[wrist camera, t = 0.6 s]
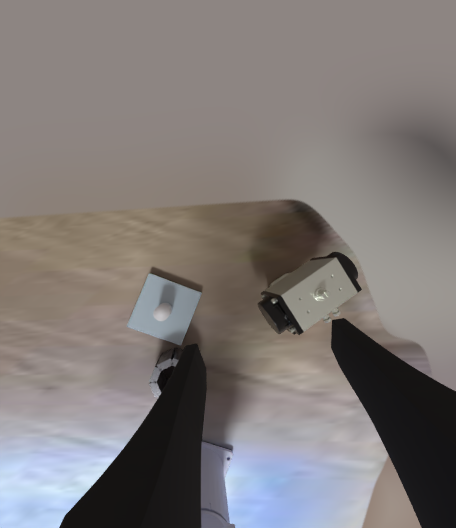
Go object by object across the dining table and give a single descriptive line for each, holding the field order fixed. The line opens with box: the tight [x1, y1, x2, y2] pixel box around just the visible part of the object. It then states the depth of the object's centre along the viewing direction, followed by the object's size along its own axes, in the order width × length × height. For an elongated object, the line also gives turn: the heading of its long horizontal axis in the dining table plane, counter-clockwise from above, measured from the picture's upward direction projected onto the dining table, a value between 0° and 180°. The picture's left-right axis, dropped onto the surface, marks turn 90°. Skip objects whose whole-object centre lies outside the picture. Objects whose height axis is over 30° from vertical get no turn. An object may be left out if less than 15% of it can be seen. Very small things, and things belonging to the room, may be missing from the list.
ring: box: [149, 348, 183, 399], centre depth 30 cm, size 5×5×4 cm
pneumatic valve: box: [258, 252, 362, 335], centre depth 29 cm, size 6×12×12 cm, turn 123°
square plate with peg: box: [127, 273, 202, 346], centre depth 30 cm, size 8×8×4 cm
